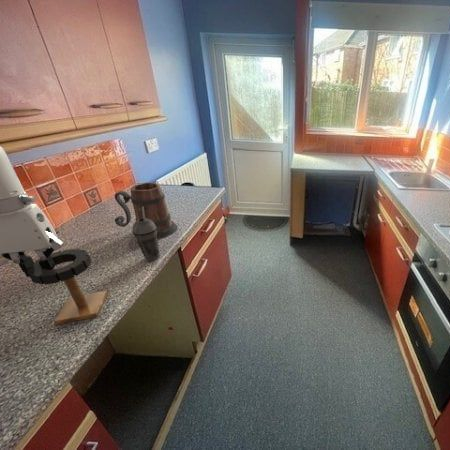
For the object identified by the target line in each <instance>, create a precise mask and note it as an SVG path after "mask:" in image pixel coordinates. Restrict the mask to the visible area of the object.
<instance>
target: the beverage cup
mask: <svg viewBox="0 0 450 450" xmlns="http://www.w3.org/2000/svg"><path fill="white" fill-rule="evenodd" d="M142 213H143V219H139V220H137V221H136V220H135V222H134V223H133V225H132V234H133V236H134V238H135V240H136V241H137V243H138V247H139V248H140V250H141V253H142V255H143V258H144V259H145V261H146V262H154V261H157V260H158V259H160V258H161V257H160V249H159V248H160V247H159V242H158V239H157V227H156V225H155V224H154V222H152V221H151V220H149V219H145V214H144V207H142Z"/></svg>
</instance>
